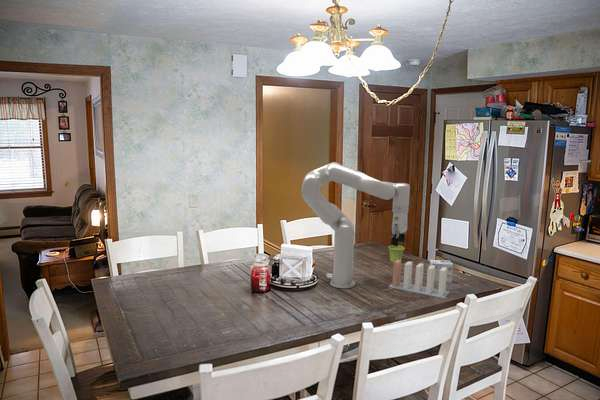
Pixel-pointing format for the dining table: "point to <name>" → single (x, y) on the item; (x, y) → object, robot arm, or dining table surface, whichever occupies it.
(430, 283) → the domino
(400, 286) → the board
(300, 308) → the dining table surface
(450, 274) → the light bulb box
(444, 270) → the domino
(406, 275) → the domino
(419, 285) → the domino
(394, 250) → the plant pot
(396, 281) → the domino
